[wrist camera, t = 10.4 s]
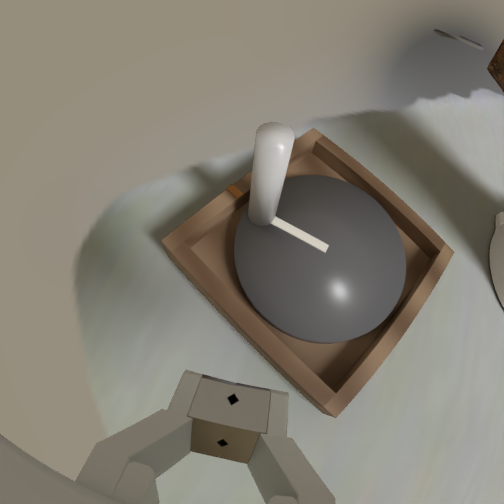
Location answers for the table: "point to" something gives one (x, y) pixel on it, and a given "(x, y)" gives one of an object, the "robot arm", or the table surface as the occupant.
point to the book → (498, 66)
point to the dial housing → (269, 338)
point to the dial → (315, 249)
